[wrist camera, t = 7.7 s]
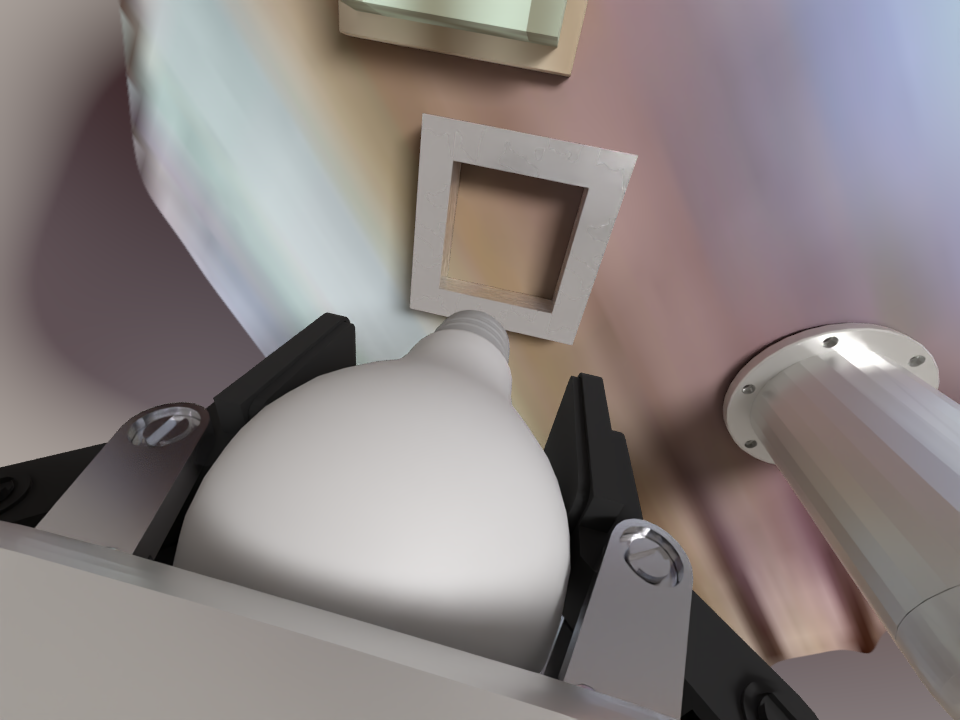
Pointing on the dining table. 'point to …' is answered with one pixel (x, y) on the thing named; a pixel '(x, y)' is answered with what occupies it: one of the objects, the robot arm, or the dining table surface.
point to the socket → (527, 156)
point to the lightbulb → (397, 501)
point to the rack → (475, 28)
